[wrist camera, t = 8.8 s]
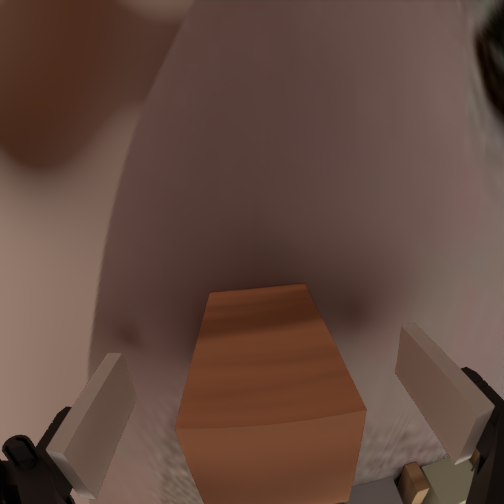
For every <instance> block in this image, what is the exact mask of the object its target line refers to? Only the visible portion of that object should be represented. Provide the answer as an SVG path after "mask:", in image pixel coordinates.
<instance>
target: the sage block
mask: <svg viewBox="0 0 504 504" xmlns="http://www.w3.org/2000/svg"><path fill="white" fill-rule="evenodd" d="M472 467H473V466H472V464H471V463H470V461H469V460H468V459H467V460H465V461H463V462H460V463H458V464H456V465H454V463H453V461H452V460H451V458H450V457H447V458H445V459H442V460H440V461H437V462H434V463H432V464H429V465H426V466H423V467H421V472H422V473H423V475H424V477H425V479H426V481H427V483H428V485H429V487H430V488H429V490H428V492H427V494H426V495H425V497H424V499H423V501H422V502H421V504H465V503H466V500H467V497H468V493H469V490H470V486H471V482H472V478H473V474H474V470H475V469H474V470H473V471H471V469H472Z"/></svg>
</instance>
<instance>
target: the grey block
mask: <svg viewBox="0 0 504 504" xmlns="http://www.w3.org/2000/svg"><path fill="white" fill-rule="evenodd" d="M337 504H403V502H402V500H401V497H400V495H399V492H398V490H397V488H396V485H395V483H394V481H393V478H392V477H389V478H385V479H382V480H378V481H374V482H370V483H366V484H362V485H358V486H353V487H352V489H351V493H350V497H349V501H346V502H342V503H337Z"/></svg>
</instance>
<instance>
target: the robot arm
mask: <svg viewBox="0 0 504 504" xmlns="http://www.w3.org/2000/svg"><path fill="white" fill-rule="evenodd" d="M395 374H396V375H397V377H398V378H399V380H400V381H401V383H402V384H403V386H404V387H405V389H406V390H407V392H408V393H409V395H410V396H411V398H412V399H413V401H414V402H415V404H416V405H417V407H418V408H419V410H420V411H421V413H422V414H423V416H424V417H425V419H426V420H427V422H428V423H429V425H430V427H431V428H432V430H433V431H434V433H435V434H436V436H437V437H438V439H439V441H440V442H441V444H442V445H443V447H444V449H445V450H446V452H447V453H448V455H449V457H450V458H451V460H452V461H453V463H454V465H456V464H458V463H460V462H463V461H465V460H467V459H469V458H471V456H472V454H473V452H474V450H475V448H476V449H477V450H478V451H479V453H480V454H479V456H478V458H477V460H476V461H475V463H474V465H473V467H472V469H471V471H473V470H474V469H475V470H474V474H473V478H472V482H471V486H470V490H469V493H468V497H467V500H466V503H465V504H504V400H503V399H502V398H501V397H500V396H499V395H498V394H497V393H496V392H495V391H494V390H493V389H492V388H491V387H490V386H488V384H487V382H486V381H485V380H483V378H482V377H481V376H480V375H479V374H478V373H477V372H475V371H473V370H471V369H469V368H468V367H464V368H461V369H460V368H459V367H458V366H457V365H456V364H455V363H454V362H453V361H452V360H451V359H450V358H449V357H448V356H447V355H446V353H445V352H444V351H443V350H442V349H441V348H440V347H439V346H438V345H437V344H436V343H435V342H434V341H433V340H432V339H431V338H430V337H429V336H428V335H427V334H426V333H425V332H424V331H423V330H422V329H421V328H420V327H419V326H418V325H417V324H416V323H413V324H408V325H403V326H401V333H400V342H399V350H398V357H397V364H396V370H395ZM136 400H137V396H136V394H135V391H134V388H133V385H132V382H131V379H130V376H129V373H128V370H127V367H126V364H125V361H124V358H123V355H122V353H108V354H107V355H106V356H105V358H104V359H103V361H102V362H101V364H100V365H99V367H98V368H97V370H96V371H95V373H94V374H93V376H92V377H91V379H90V380H89V382H88V383H87V385H86V386H85V388H84V390H83V391H82V392H81V394H80V395H79V397H78V399H77V400H76V402H75V403H74V405H73V406H72V407H65V408H64V409H63V410H61V411H60V412H59V413H58V414H57V415H56V417H55V418H54V420H53V423H51V424H50V426H49V429H48V430H46V432H45V434H44V435H43V437H42V438H41V440H40V441H39V443H38V445H37V446H36V447H35V446H34V444H33V443H32V441H31V440H30V438H29V437H27V436H25V435H16V436H13V437H11V438H9V439H8V440H7V441H6V442H5V443H4V445H3V447H2V452H3V453H4V454H5V456H6V457H7V459H8V460H9V461H1V459H0V504H75V502H74V499H73V498H72V497H71V495H70V492H71V490H72V488H73V489H74V490H75V491H76V492H77V493H78V495H79V496H82V497H86V498H90V499H95V500H96V499H97V497H98V494H99V491H100V489H101V486H102V483H103V481H104V478H105V476H106V473H107V470H108V468H109V465H110V463H111V460H112V458H113V455H114V453H115V450H116V448H117V445H118V443H119V440H120V438H121V436H122V433H123V431H124V428H125V426H126V423H127V421H128V419H129V416H130V414H131V411H132V409H133V407H134V404H135V402H136Z"/></svg>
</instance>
